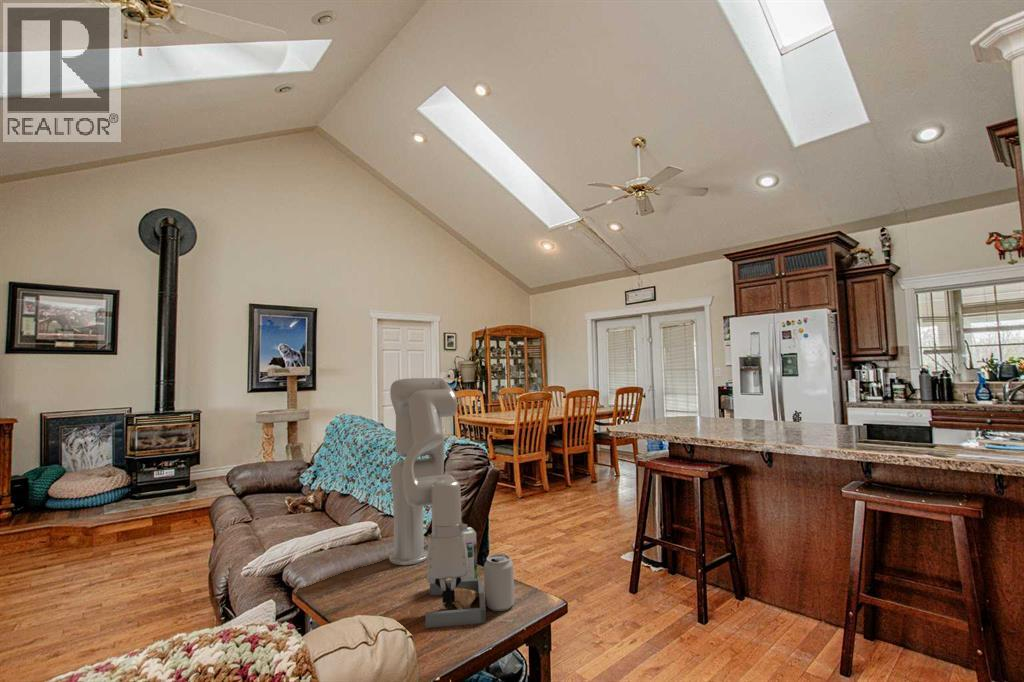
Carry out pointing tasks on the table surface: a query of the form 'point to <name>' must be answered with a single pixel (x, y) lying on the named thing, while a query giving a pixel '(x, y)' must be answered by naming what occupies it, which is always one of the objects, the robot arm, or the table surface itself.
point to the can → (499, 582)
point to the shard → (464, 598)
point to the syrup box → (471, 552)
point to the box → (462, 614)
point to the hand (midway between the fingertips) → (448, 605)
